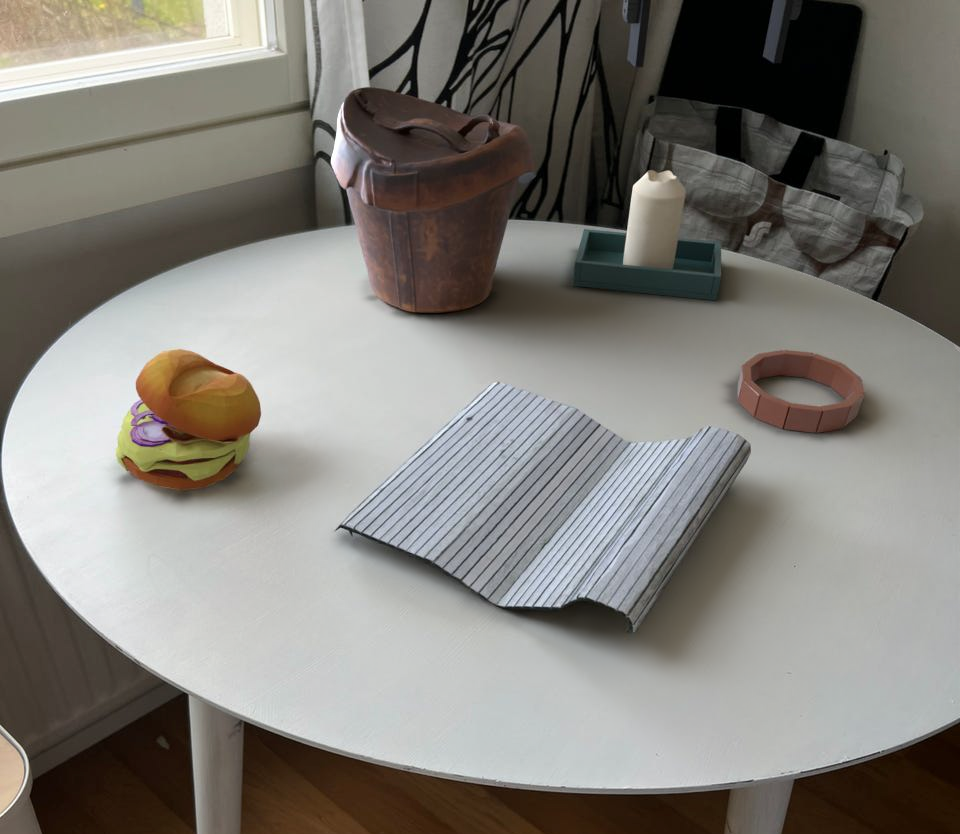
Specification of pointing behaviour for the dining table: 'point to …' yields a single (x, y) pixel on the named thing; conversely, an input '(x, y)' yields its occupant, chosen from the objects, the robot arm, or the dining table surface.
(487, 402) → the mat
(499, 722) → the dining table surface
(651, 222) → the candle
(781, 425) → the faceted band ring
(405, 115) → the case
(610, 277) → the tray
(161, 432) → the cheeseburger
